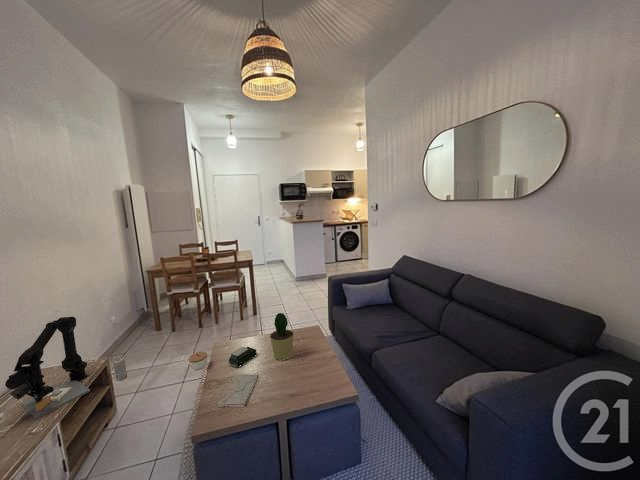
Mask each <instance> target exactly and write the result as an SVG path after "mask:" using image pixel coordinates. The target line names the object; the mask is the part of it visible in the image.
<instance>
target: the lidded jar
mask: <svg viewBox="0 0 640 480" xmlns="http://www.w3.org/2000/svg"><path fill="white" fill-rule="evenodd" d="M187 360H188V364H189V367H190V368H191V369H193V370H194V371H201V370H203V369H204V368H205V366H206V364H207V363H208V353H207V352H206V351H197V352H194V353H192V354H191V355H190V356H189V357H188V359H187Z"/></svg>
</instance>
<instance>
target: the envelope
mask: <svg viewBox="0 0 640 480" xmlns="http://www.w3.org/2000/svg"><path fill="white" fill-rule="evenodd" d="M237 376H239V377H237ZM240 376H241V377H240ZM257 376H258V377H259V374H257V373H255V374H234V375H233V377H232V379H231V380H230V383H229V384H228V386H227V387H226V389H225V391H224V392H223V394H225V393H226V391H227V388H228V387H229V386H230V384H231V383H232V381H233V380H234V379H235V382H236V385H237V386H235V388H234V391H233V392H232V393H230V394H229V395H227V396H226V397H225V398H223V399H222V398H221V397H220V399H222V400H223V401H225V400H226V399H227V398H229V397H230V396H231V395H232V396H231V397H233V398H231V399H229V400H228V401H226V403H222V402H223V401H222V400H220V399H219V400H218V402H217V404H224V405H245V403H246V400H247V398H248V396H249V394H250V391H251V389H252V387H253V385H254V383H255V384H256V382H255V380H256V378H257ZM238 378H240V379H238ZM257 379H258V378H257ZM256 381H257V380H256ZM254 386H255V385H254ZM253 388H254V387H253ZM252 390H253V389H252ZM251 392H252V391H251ZM233 394H234V395H233ZM250 395H251V394H250ZM249 397H250V396H249ZM248 399H249V398H248ZM247 401H248V400H247ZM246 404H247V403H246ZM245 406H246V405H245Z"/></svg>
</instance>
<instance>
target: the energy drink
mask: <svg viewBox="0 0 640 480" xmlns="http://www.w3.org/2000/svg"><path fill="white" fill-rule="evenodd" d="M113 368H114V374H115V380H116V382H123V381H124V380H126V379H127V378H128V372H127V366H126V360H125V358H124V357H119V358H116V359H114V360H113Z"/></svg>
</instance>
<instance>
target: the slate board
mask: <svg viewBox="0 0 640 480" xmlns="http://www.w3.org/2000/svg"><path fill="white" fill-rule="evenodd" d="M70 387H72V390H70V391H69V392H68V393H67V394H66V395H65V396H63V397H62V398H61V399H60V397H58V398H57V401H51V402H50V403H49V404H48V405H47V406H45V407H44V408H43V409H42V410H40V411H36V408H35V404H36V401H35V400H34V398H33V397H31V398H29V399H27V400H25V401H23V402H20V403H21V405H22V407H24V409H26V410H27V412H28V413H29V414H30V415H31V416H32V417H33V418H34V419H35V420H36V419H38V418H40V417H43V416H45V415H47V414H48V412H49V413H50V412H53V411H54V410H57V409H58V408H60V407H62V406H64V405H67V404H68V403H70V402H72V401H75V399H78V398H80V397H82V396H83V395H86V394H88V393H90V392H91V389H90V388H88V387H87V386H86V385H84V384H82V383H81V382H80V381H76V380H73V381H70V380H68V381H66V382H64V383H62V384H60V385H57V386H56V387H53V388H54V391H53V392H52V396H58V395H59V394H60V390H59V389H61V388H70ZM47 395H48V394H47ZM45 396H46V395H45ZM45 396H44V397H45ZM44 397H43V398H44ZM43 398H42V399H43ZM46 413H47V414H46Z"/></svg>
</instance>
